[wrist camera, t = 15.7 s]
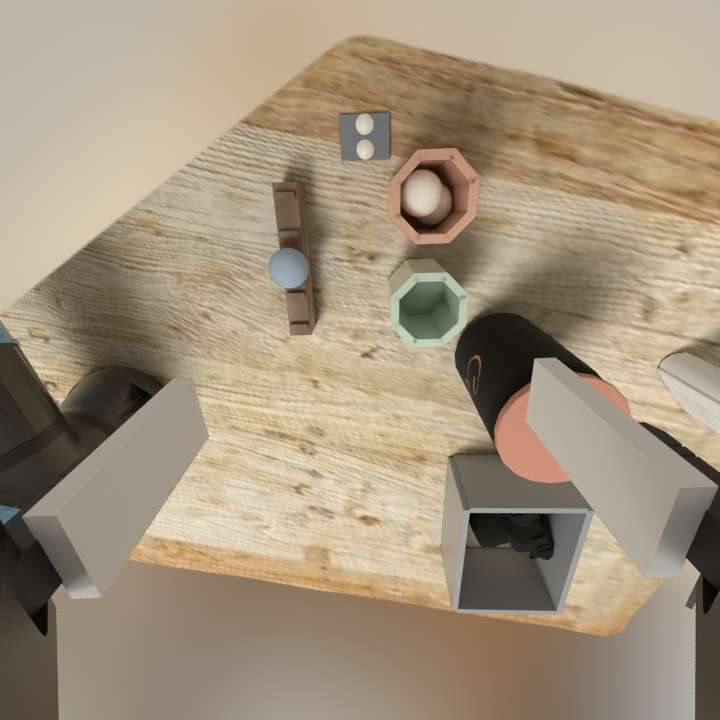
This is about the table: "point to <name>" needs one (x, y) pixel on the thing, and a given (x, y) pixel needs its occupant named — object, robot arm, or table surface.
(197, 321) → the table surface
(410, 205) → the cream ball
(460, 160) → the tubes
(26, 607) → the robot arm
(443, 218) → the cream ball
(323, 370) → the table surface
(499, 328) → the coffee jar
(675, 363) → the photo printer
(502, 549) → the box
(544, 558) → the film camera
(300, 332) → the rack
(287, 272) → the blue ball
